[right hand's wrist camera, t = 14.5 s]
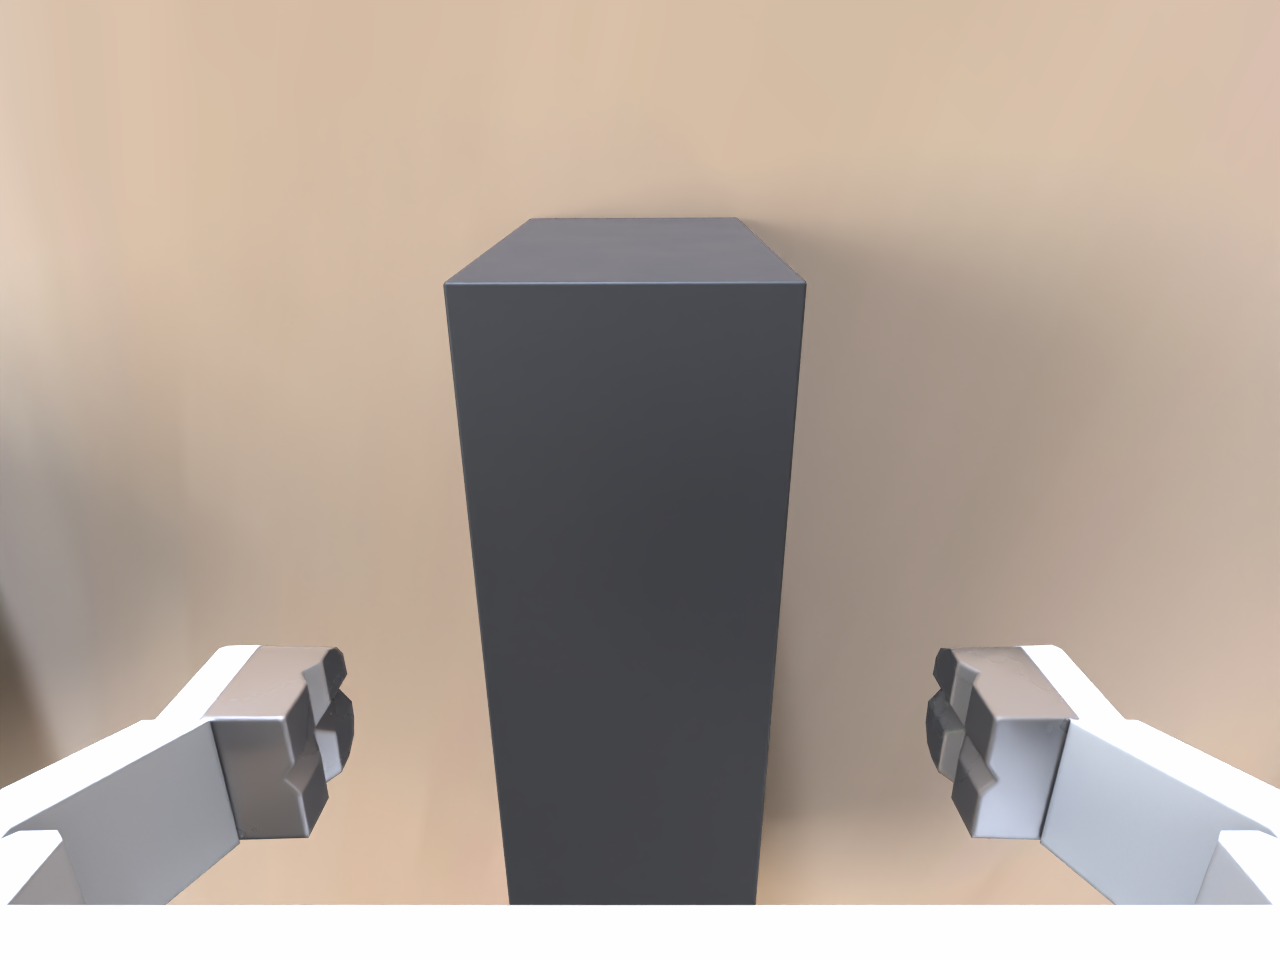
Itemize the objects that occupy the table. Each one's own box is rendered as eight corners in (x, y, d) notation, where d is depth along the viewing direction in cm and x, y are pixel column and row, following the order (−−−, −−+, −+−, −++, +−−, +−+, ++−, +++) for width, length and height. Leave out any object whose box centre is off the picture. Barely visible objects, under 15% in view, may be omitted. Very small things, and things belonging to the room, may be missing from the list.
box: (529, 218, 22) (442, 282, 13) (737, 217, 22) (807, 281, 13) (565, 824, 32) (531, 1117, 22) (710, 824, 32) (738, 1119, 22)
